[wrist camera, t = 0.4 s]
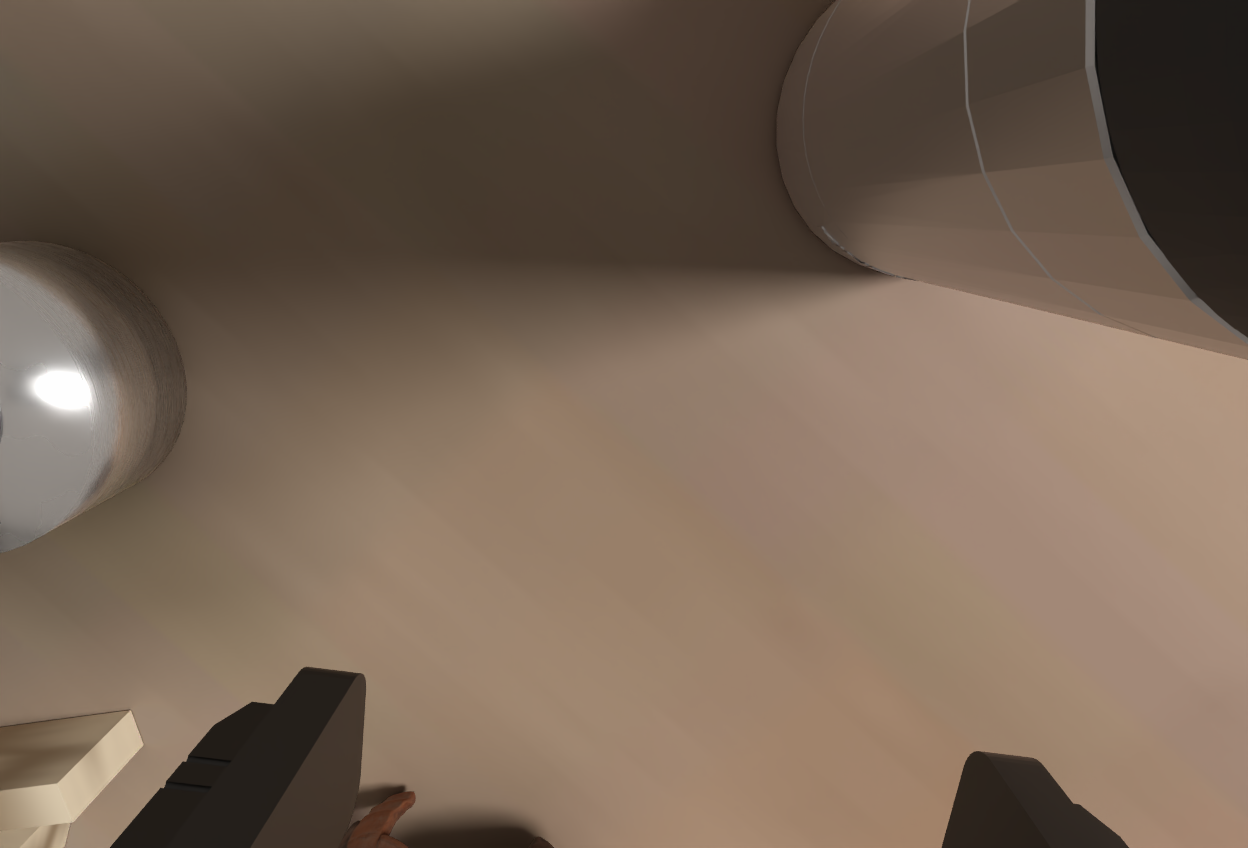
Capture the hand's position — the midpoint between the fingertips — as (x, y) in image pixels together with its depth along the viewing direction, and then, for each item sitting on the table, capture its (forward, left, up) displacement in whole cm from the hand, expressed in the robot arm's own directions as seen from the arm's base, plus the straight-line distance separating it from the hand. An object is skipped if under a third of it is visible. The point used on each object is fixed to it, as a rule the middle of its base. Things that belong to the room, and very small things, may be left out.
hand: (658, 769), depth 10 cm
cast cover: (+6, -19, -18) cm, 27 cm away
